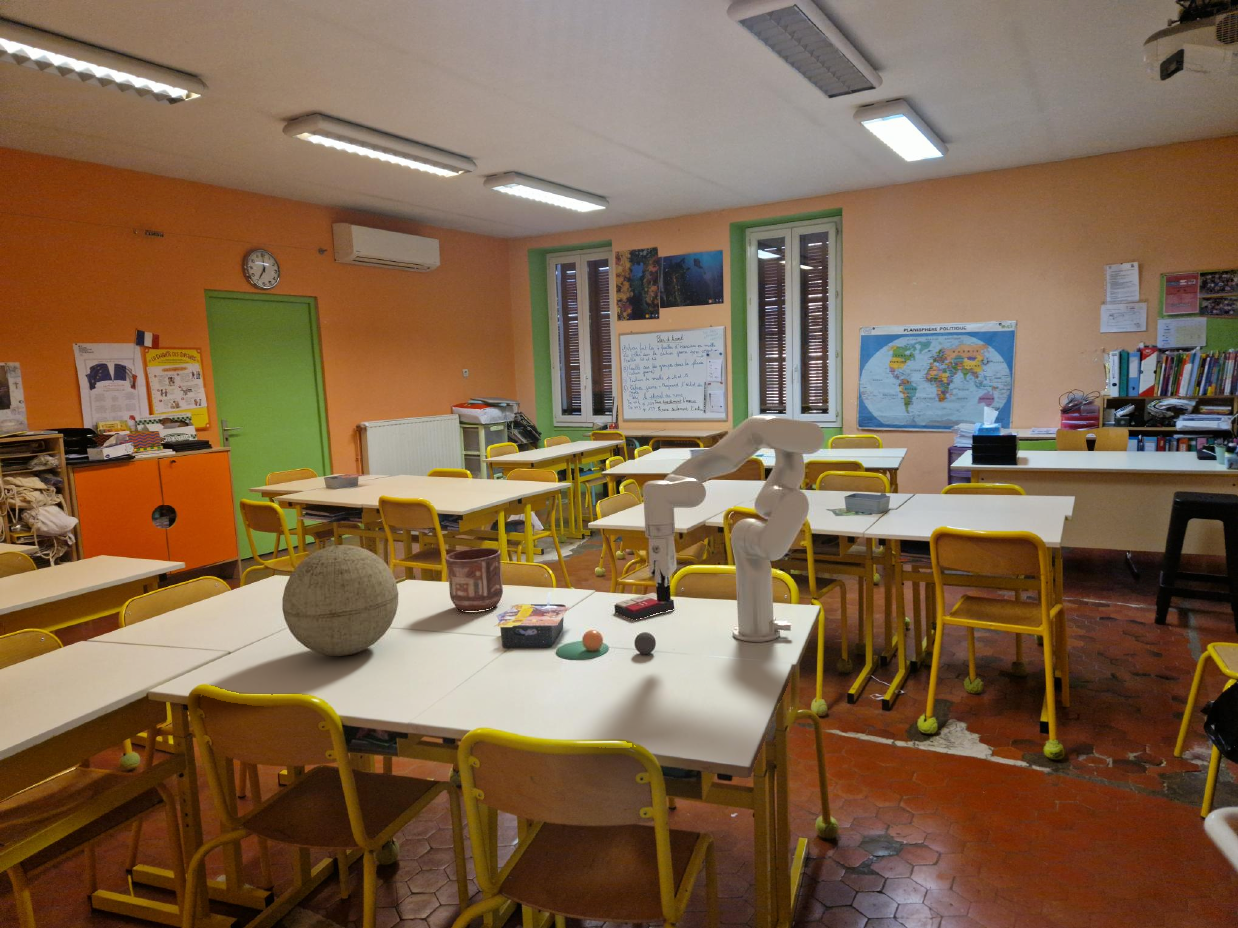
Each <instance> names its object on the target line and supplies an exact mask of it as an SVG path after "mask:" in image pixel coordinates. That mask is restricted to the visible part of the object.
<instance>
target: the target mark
mask: <svg viewBox="0 0 1238 928" xmlns="http://www.w3.org/2000/svg"><path fill="white" fill-rule="evenodd" d="M609 649H610V647H609V645H608V644H607V643H604V642H603V644H602V646H601V648H600V649H598V650H597V651H588V650H587V649H585V648H584V646H583V644H582V640H576V641H571V642H568V643H565V644H562V645H560V646H559V647H557V648H556V650H555V653H556V656H558V657H560V658H562V659H564V660H570V661H571V660H572V661H573V660H575V661H581V660H591V659H596V658H598V657H601V656H603V655H606V653H608V651H609Z"/></svg>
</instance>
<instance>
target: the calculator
mask: <svg viewBox="0 0 1238 928" xmlns="http://www.w3.org/2000/svg"><path fill="white" fill-rule="evenodd" d="M674 601H675V600H674V599H672V598H671V600H670V601H669V602H658V601H657V593H655V592H650V593H646V594H644V595H639V596H635V597H632V598H630V599H625V600H622V601H619V602H616V603H615V604H614V613H615V614H616V613H618V614H617V615H619V616H621V615H622V616H621V617H623V616H625V617H624V618H626V617H627V618H626V619H628V618H630V619H629V620H631V619H633V620H636V619H640V618H644V617H647V616H650V615H653V614H656V613H660V612H666V611H668V610H673V609H674V610H675V603H674ZM644 619H645V618H644ZM633 620H632V621H633ZM640 620H641V619H640ZM636 621H637V620H636Z"/></svg>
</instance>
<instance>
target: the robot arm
mask: <svg viewBox="0 0 1238 928" xmlns="http://www.w3.org/2000/svg"><path fill="white" fill-rule="evenodd" d="M824 443H825V433H824V430H823V429H822V428H821V426H820V425H819V424H817V423H815V422H812V421H806V420H800V419H799V420H798V419H794V418H793V419H792V418H785V417H782V416H781V417H780V416H775V415H753V416H750V417H748V418H746V419H745V420H743V421H742V422H741V423H739V424H738V425H737V426H736V427H735V428H733V429H732V430H731V431H730V432H729V433H727V434H726V435H725V436H724V437H723V438H722V439H721V440H719V441H718V442H717V443H715V444H714V445H713V446H711V447H708V448H707V449H705V450H702V451H701V452H700V453H698V454H695V455H694V456H691V457H690V458H688V459H687V460H684V462H682V463H681V464H679V465H678V466H677V467H676V468H675V469H673V470H672V471H671V472H670V473H669V474H667V476H666V477H665V478H664V479H663V480H662V479H660V480H658V479H657V480H649V481H647V482H645V483H644V484H643V485H642V497H643V514H644V515H643V516H644V517H643V518H644V530H645V531H644V532H645V538H648V567H649V568H648V569H649V574H650V576H651V577H654V583H655V586H656V589H655V591H656V594H657V601H658V602H669V601H670V600H671V599H672V598H671V597H672V596H671V595H672V594H671V585H670V584H671V580H670V579H671V575H672V574H673V573H674V572H675V571H676V569H677V553H676V546H675V545H676V544H675V539H674V538H675V536H676V522H675V521H676V520H675V509H676V508H677V509H678V508H679V509H681V508H682V509H692V508H696V507H698V506H700V505H702V504H703V502H704V501H705V499H706V496H707V489H706V487H705V485H704V484H703V482H705V481H707V480H709V479H712V478H716V477H720V476H724V475H729V474H731V473H734V472H735V471H737V470H738V469H739V468H740V467H742V465H744V464H745V463H746V462H747V461H748V460H750V459H751V458H752V457H753V456H754V455H756V453H758V452H759V451H760V450H761V449H768V450H773V451H774V455H775V457H774V458H775V460H774V461H775V462H774V466H773V468H772V470H771V471H770V473H769V475H768V477H767V479H766V481H765V482H764V484H763V485H762V487H761V489H760V491H759V492H758V494H757V496H756V498H755V500H754V510H755V512H756V514H757V515H759V517H761V518H764V519H765V520H767V521H765V520H760V519H756V518H743V519H741V520H738V521H737V522H736V523H735V524H734V526H733V527H732V529H731V534H730V543H731V549H732V552H733V553H732V554H733V557H734V565H735V582H736V584H735V585H736V586H735V587H736V605H737V608H736V609H737V626H735V627H734V628H733V629H732V635H733V637H734V638H735V639H737V640H740V641H744V642H749V643H750V642H752V643H759V642H760V643H761V642H769V641H773V640H776V639H778V638H779V637H780V635H781V631H784V632H786V631H787V632H791V631H792V624H791V623H789V622H788V621H784V620H783V621H781V620H780V621H779V620H778V619H776V618H777V617H776V615H774V598H773V596H774V594H773V570H772V564H771V561H778V560H780V559H781V558H783V557H784V556H785V555H786V554H787V552H788V551H789V550H790V548H791V546H792V545H793V543H794V541H795V539H796V538H797V536H798V534H799V532H800V530H801V529H802V527H803V526H804V524H805V522H806V520H807V517H808V514H809V510H810V504H809V499H808V496H807V495H806V494H805V492H803V491H802V490H801V489H800V487H801V486H802V485H801V484H802V483H803V481H804V479H805V475H806V464H805V459H804V455H812V454H813V455H814V454H816V453H817V452H818V451H820V450H821V449H822V447H823V446H824Z"/></svg>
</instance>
